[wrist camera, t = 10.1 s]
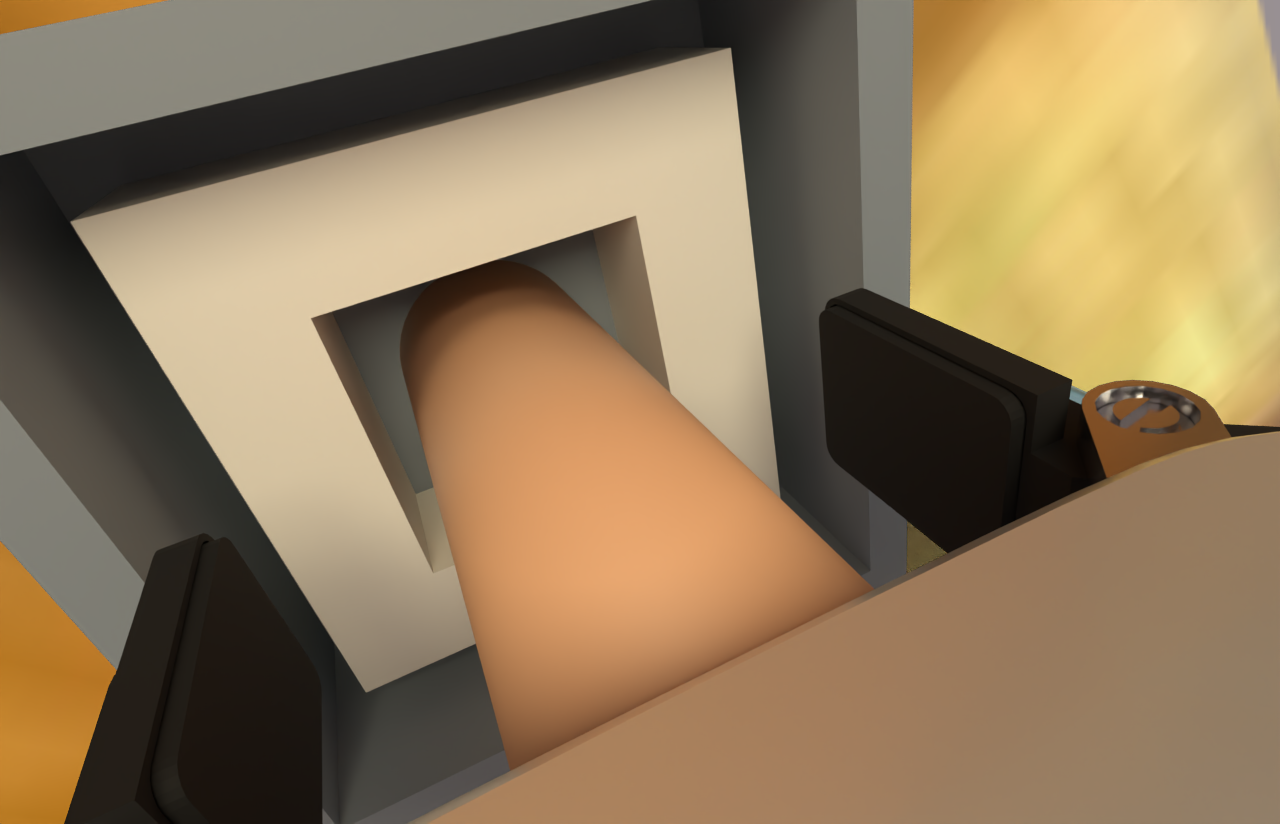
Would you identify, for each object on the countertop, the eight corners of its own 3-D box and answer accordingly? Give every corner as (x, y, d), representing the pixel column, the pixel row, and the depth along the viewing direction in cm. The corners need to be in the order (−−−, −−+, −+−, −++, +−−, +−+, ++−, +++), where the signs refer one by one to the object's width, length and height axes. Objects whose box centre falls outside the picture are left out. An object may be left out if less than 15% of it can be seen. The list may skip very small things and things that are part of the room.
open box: (771, 461, 22) (906, 584, 17) (311, 659, 18) (309, 882, 13) (709, -83, 14) (915, -151, 9) (-74, 83, 11) (-385, 111, 6)
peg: (597, 395, 17) (986, 865, 7) (437, 455, 16) (628, 1095, 6) (556, 235, 15) (1021, 589, 5) (369, 295, 14) (496, 870, 4)
